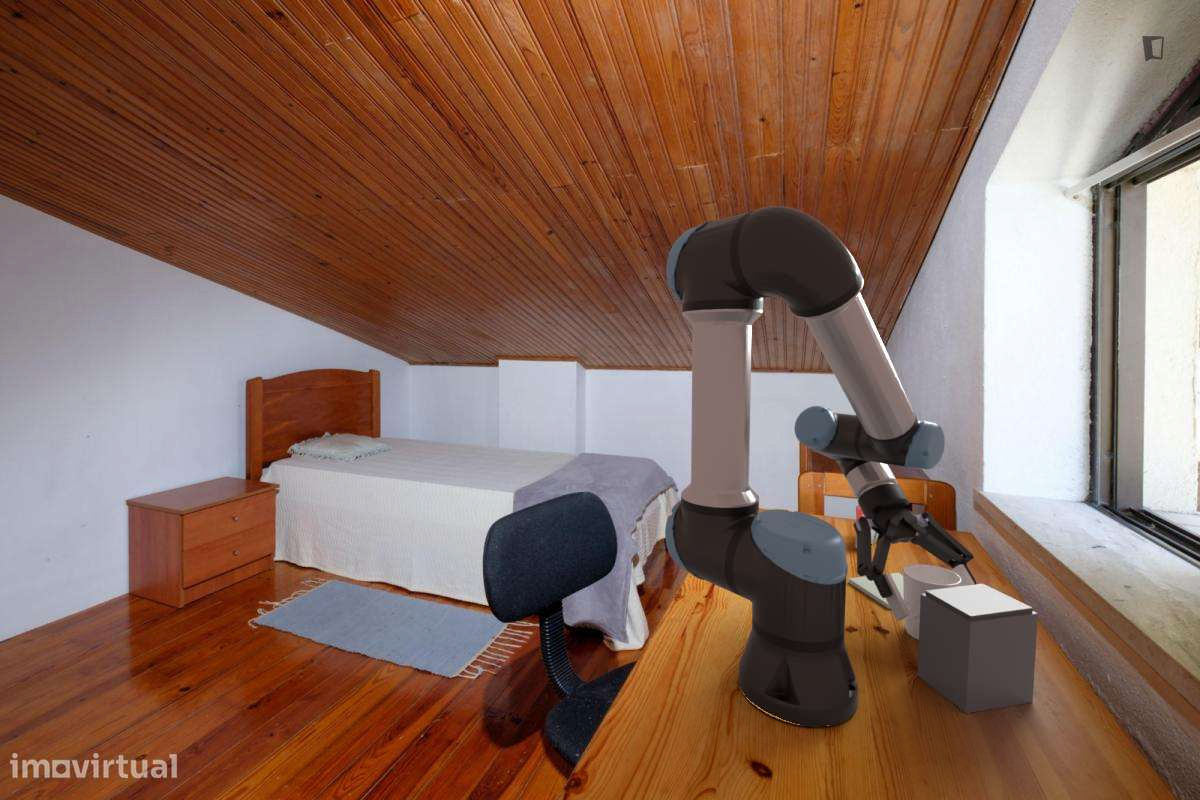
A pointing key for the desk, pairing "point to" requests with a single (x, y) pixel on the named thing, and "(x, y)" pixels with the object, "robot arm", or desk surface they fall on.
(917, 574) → the white cup
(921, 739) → the desk surface
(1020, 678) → the block
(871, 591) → the coaster
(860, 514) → the ink cartridge box
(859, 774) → the desk surface
